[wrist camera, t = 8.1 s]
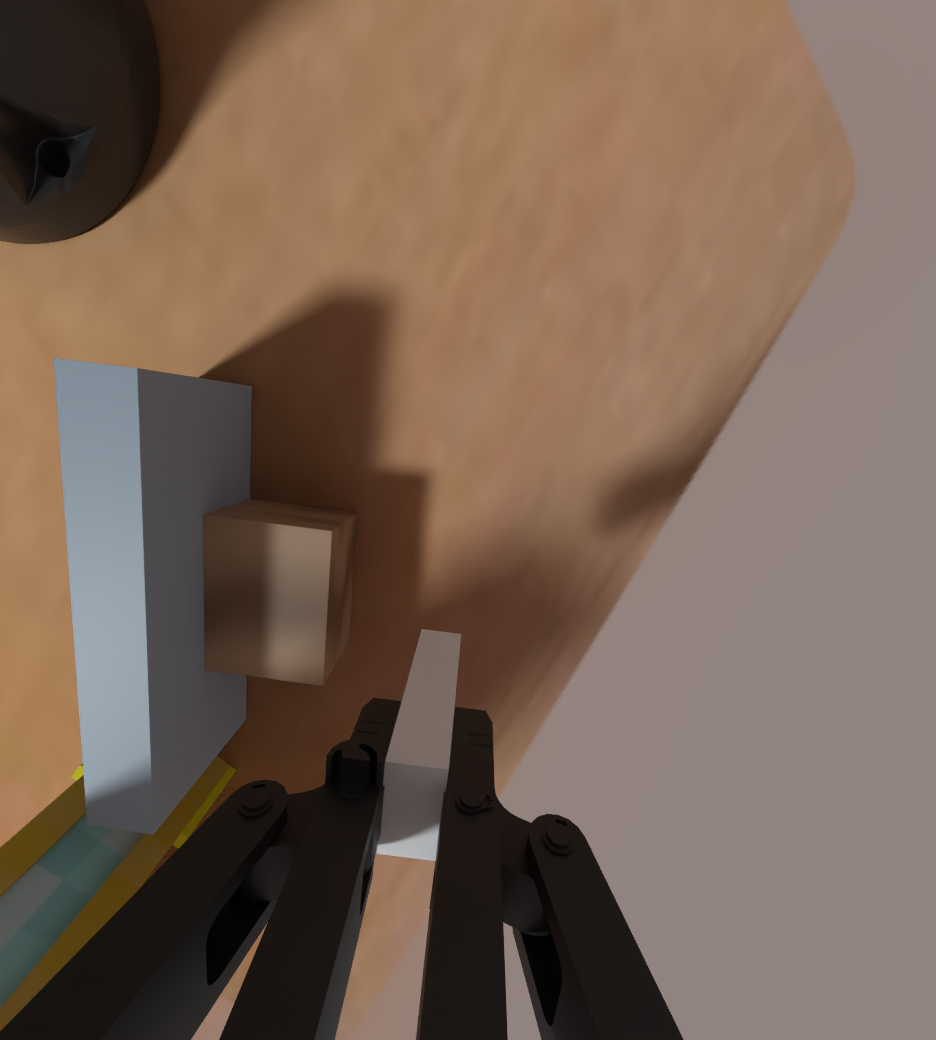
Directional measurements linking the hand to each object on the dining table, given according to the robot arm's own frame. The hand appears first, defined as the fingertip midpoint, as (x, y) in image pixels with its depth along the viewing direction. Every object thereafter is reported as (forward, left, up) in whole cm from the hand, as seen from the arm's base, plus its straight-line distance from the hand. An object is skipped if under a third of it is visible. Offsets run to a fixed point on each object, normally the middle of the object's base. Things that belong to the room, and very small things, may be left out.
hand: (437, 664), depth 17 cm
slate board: (+1, -13, -9) cm, 16 cm away
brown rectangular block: (+1, -9, -9) cm, 13 cm away
